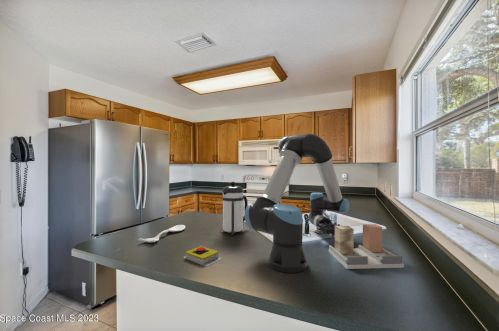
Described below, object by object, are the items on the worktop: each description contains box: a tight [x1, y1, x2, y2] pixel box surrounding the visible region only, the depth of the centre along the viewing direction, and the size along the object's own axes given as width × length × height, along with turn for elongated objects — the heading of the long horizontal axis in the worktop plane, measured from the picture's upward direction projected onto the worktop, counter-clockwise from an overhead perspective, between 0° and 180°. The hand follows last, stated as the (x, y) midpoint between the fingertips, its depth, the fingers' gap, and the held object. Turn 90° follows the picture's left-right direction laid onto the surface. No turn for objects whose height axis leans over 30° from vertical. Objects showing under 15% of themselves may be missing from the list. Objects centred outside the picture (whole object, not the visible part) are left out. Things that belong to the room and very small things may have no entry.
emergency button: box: [183, 246, 223, 267], centre depth 97 cm, size 9×4×15 cm
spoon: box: [138, 224, 186, 243], centre depth 127 cm, size 9×32×4 cm, turn 164°
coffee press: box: [219, 181, 249, 237], centre depth 136 cm, size 17×16×30 cm
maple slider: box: [334, 225, 355, 255], centre depth 99 cm, size 6×5×11 cm
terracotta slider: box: [362, 223, 383, 252], centre depth 102 cm, size 6×5×11 cm
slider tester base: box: [328, 244, 405, 270], centre depth 97 cm, size 23×17×4 cm
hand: (343, 236), depth 102 cm, fingers closed
